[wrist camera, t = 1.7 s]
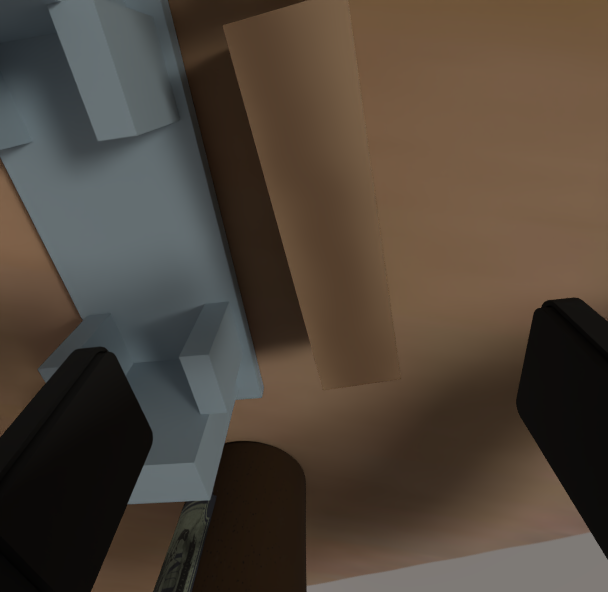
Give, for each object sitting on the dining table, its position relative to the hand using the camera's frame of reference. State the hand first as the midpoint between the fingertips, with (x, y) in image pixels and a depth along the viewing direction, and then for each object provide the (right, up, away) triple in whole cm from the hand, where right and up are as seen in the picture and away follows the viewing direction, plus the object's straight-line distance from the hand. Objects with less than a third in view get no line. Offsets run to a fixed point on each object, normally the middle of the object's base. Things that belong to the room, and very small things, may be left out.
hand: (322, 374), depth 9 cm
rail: (+1, +7, +12) cm, 14 cm away
